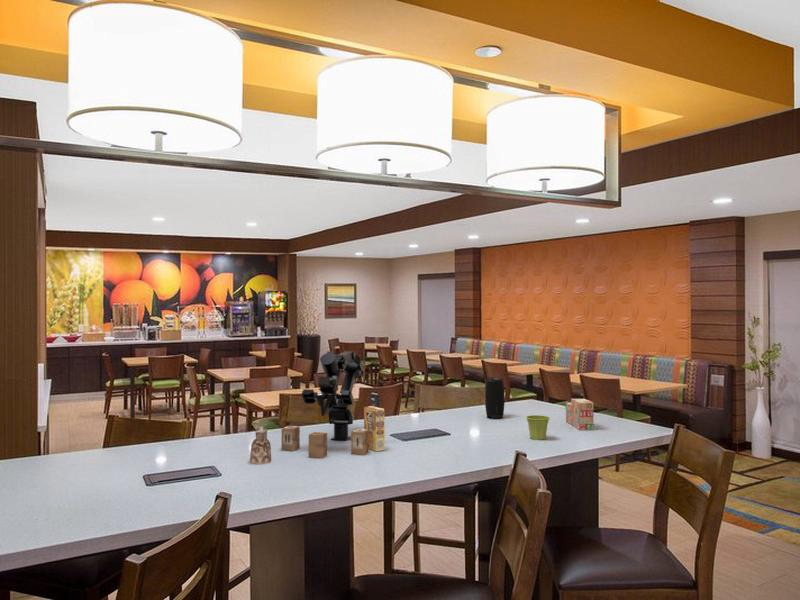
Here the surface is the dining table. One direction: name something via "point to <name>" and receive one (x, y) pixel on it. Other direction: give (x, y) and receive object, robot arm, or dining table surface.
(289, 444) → the tile block
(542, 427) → the plant pot
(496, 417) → the portable speaker
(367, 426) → the candy box
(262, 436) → the figurine
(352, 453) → the tile block
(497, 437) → the dining table surface
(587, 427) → the patterned cardboard box
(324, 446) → the plain block
